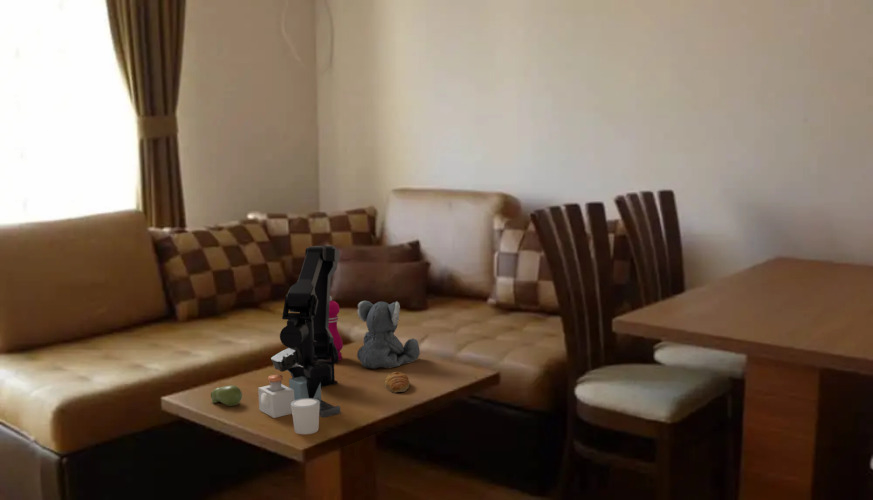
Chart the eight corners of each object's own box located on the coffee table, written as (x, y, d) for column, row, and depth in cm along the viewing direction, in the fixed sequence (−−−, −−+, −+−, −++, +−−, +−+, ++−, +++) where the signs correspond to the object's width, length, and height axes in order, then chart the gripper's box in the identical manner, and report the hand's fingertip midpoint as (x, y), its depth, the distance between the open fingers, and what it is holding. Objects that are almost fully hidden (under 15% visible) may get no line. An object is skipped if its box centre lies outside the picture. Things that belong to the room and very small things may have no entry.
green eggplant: (227, 388, 231) (203, 388, 237) (231, 408, 231) (207, 407, 237) (244, 383, 235) (220, 382, 241) (247, 402, 235) (224, 402, 241)
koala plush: (423, 359, 274) (422, 297, 271) (390, 374, 259) (388, 308, 256) (378, 352, 284) (376, 292, 281) (343, 366, 269) (340, 302, 266)
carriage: (310, 397, 239) (309, 374, 238) (321, 402, 235) (320, 379, 234) (290, 402, 236) (289, 379, 235) (301, 407, 231) (300, 384, 230)
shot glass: (293, 426, 218) (291, 398, 217) (321, 424, 219) (320, 397, 218) (291, 436, 211) (289, 407, 210) (320, 434, 212) (319, 406, 211)
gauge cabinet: (280, 405, 234) (279, 382, 233) (295, 412, 228) (294, 390, 227) (257, 410, 230) (256, 387, 229) (272, 418, 224) (271, 395, 223)
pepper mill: (339, 362, 272) (336, 298, 269) (316, 362, 274) (313, 298, 271) (346, 356, 279) (344, 293, 276) (324, 355, 281) (321, 293, 278)
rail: (301, 394, 242) (301, 388, 242) (340, 413, 227) (340, 406, 226) (284, 398, 239) (284, 392, 239) (322, 417, 223) (322, 411, 223)
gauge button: (279, 395, 231) (278, 373, 230) (286, 399, 228) (285, 376, 227) (266, 398, 229) (265, 376, 228) (273, 402, 226) (272, 379, 225)
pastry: (412, 393, 242) (412, 379, 241) (387, 395, 241) (387, 381, 240) (407, 383, 251) (407, 370, 251) (383, 385, 250) (383, 372, 249)
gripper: (258, 336, 235) (261, 393, 238) (292, 350, 220) (295, 411, 223) (296, 329, 242) (298, 384, 244) (331, 342, 227) (333, 401, 229)
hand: (305, 395), depth 235 cm, fingers closed on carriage, 6 cm apart
